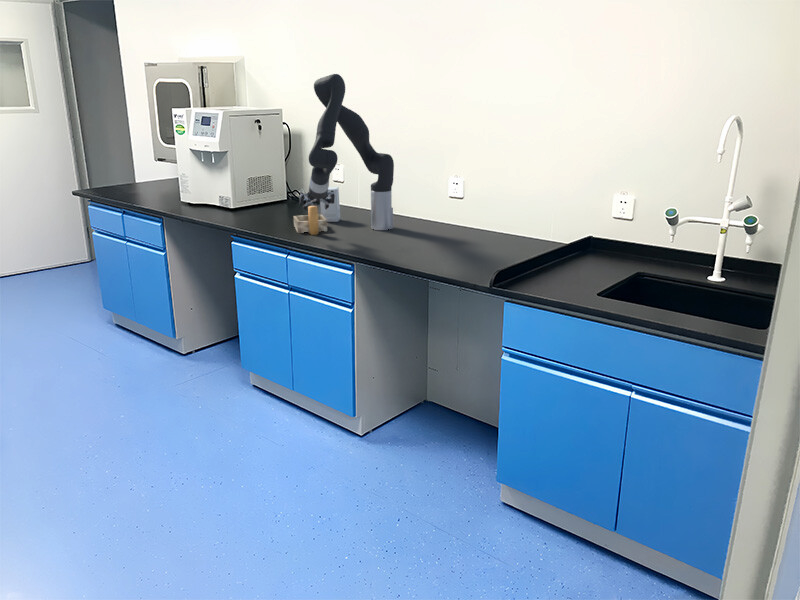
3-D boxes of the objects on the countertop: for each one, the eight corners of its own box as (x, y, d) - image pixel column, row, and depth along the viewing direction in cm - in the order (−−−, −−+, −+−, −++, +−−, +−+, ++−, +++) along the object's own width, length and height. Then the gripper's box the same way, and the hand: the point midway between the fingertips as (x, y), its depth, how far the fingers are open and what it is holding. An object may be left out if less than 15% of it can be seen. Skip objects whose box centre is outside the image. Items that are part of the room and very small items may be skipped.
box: (322, 225, 291) (321, 214, 289) (327, 231, 279) (326, 220, 277) (294, 226, 287) (293, 216, 286) (297, 233, 276) (297, 221, 274)
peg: (317, 232, 277) (316, 205, 273) (319, 234, 273) (318, 207, 269) (308, 233, 275) (307, 206, 271) (310, 235, 272) (308, 207, 268)
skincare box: (340, 219, 303) (339, 187, 298) (337, 222, 297) (336, 189, 291) (323, 219, 304) (322, 186, 298) (320, 222, 297) (319, 189, 292)
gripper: (335, 176, 253) (330, 200, 267) (299, 178, 249) (297, 201, 263) (338, 191, 250) (333, 214, 264) (302, 193, 246) (299, 216, 260)
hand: (315, 208), depth 264 cm, fingers open, 8 cm apart
